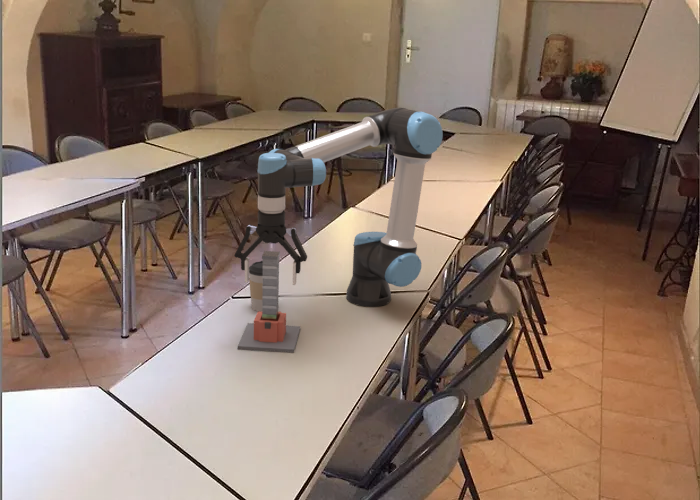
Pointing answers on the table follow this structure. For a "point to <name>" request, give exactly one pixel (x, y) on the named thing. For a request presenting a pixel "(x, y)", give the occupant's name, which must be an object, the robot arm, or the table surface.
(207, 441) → the table surface
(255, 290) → the coffee cup
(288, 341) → the stand
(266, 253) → the column
